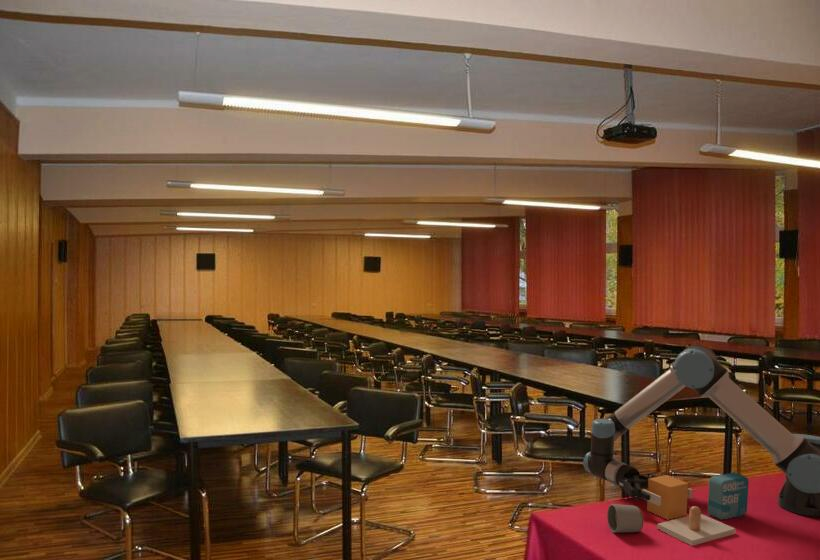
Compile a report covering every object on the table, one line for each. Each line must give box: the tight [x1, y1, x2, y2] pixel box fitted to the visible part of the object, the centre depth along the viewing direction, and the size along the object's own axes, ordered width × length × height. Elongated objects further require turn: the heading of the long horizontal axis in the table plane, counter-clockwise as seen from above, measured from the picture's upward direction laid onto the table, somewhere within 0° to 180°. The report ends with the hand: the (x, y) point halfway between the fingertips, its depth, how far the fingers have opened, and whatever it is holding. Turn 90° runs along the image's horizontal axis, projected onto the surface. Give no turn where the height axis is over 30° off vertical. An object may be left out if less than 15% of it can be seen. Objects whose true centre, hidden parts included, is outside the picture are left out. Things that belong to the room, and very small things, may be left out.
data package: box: [707, 472, 750, 521], centre depth 208 cm, size 12×4×12 cm, turn 115°
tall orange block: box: [646, 474, 689, 521], centre depth 208 cm, size 8×8×10 cm
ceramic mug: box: [606, 503, 644, 534], centre depth 196 cm, size 11×8×8 cm
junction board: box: [656, 505, 736, 547], centre depth 195 cm, size 18×12×8 cm, turn 119°
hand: (675, 497), depth 205 cm, fingers open, 13 cm apart
